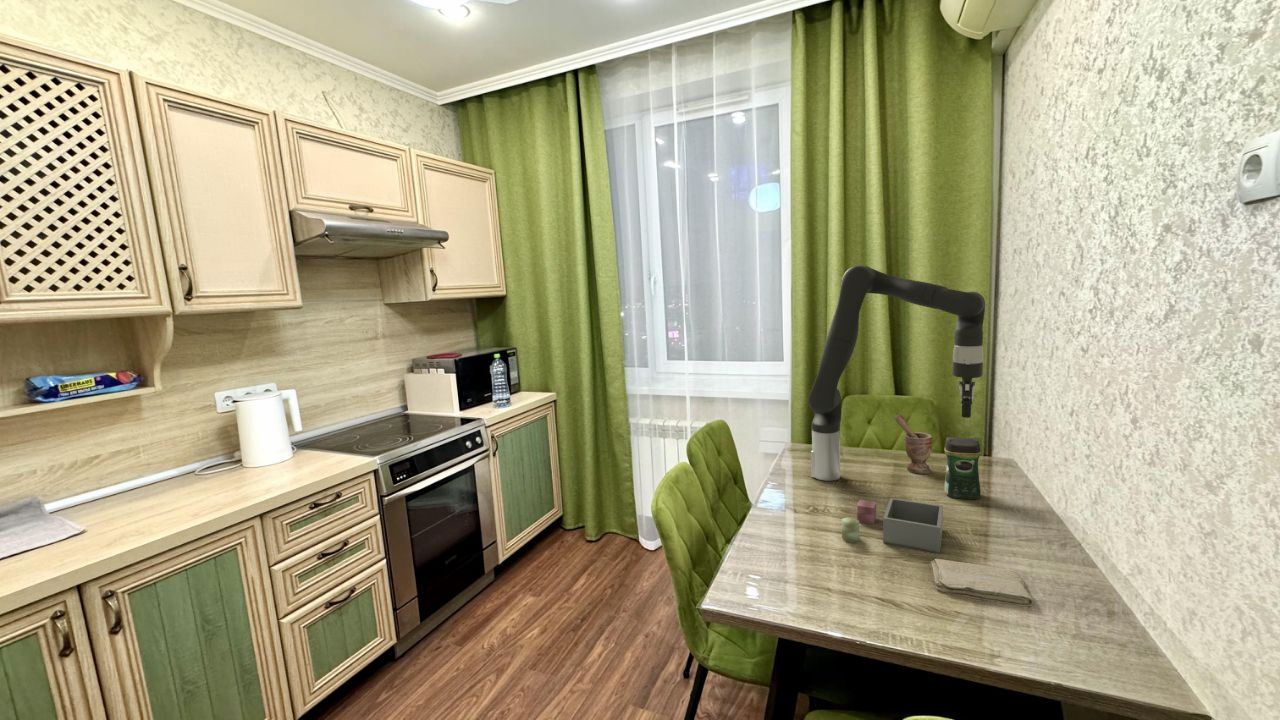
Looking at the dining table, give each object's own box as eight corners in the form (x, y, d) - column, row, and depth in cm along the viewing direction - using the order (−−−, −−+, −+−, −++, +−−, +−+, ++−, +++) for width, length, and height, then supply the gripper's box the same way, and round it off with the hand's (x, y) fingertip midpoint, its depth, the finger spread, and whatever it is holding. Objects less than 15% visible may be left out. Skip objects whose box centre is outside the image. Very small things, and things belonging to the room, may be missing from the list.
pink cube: (857, 521, 148) (857, 505, 147) (860, 515, 151) (859, 499, 151) (873, 524, 145) (873, 508, 145) (876, 518, 149) (876, 502, 148)
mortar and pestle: (896, 473, 180) (896, 418, 177) (893, 465, 188) (893, 412, 185) (933, 475, 176) (934, 419, 173) (929, 466, 184) (929, 413, 181)
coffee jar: (977, 491, 161) (979, 435, 159) (982, 501, 154) (983, 442, 152) (942, 488, 165) (943, 433, 163) (945, 498, 158) (946, 440, 156)
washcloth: (929, 566, 124) (929, 554, 124) (1018, 578, 117) (1019, 566, 116) (935, 594, 113) (935, 581, 113) (1034, 610, 106) (1035, 596, 106)
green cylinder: (840, 540, 138) (840, 523, 137) (843, 533, 142) (843, 516, 141) (857, 543, 136) (857, 526, 135) (860, 536, 139) (860, 519, 139)
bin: (883, 542, 135) (883, 518, 134) (890, 520, 147) (890, 497, 146) (940, 553, 128) (940, 527, 127) (942, 529, 140) (943, 505, 139)
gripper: (953, 356, 158) (951, 407, 160) (952, 363, 146) (950, 418, 148) (982, 356, 154) (980, 408, 156) (984, 364, 142) (981, 421, 144)
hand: (966, 413), depth 152 cm, fingers open, 8 cm apart
